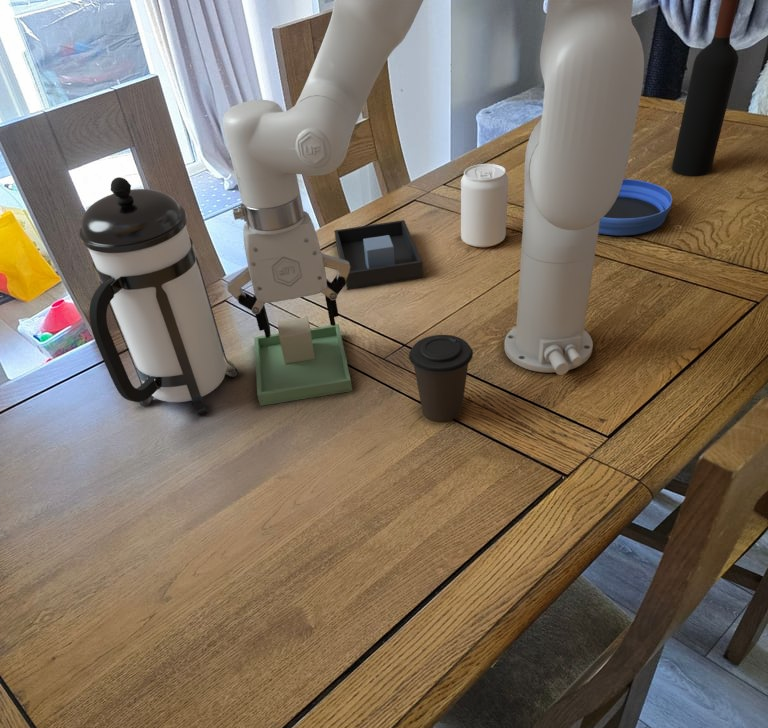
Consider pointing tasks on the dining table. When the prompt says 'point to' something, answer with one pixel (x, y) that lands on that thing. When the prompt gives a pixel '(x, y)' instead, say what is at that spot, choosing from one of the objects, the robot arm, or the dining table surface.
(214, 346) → the coffee press
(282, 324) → the cream block
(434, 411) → the coffee cup
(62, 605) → the dining table surface
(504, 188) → the beverage can
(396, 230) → the black tray
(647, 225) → the bowl
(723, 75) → the wine bottle
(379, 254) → the bluegrey block
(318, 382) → the dish
